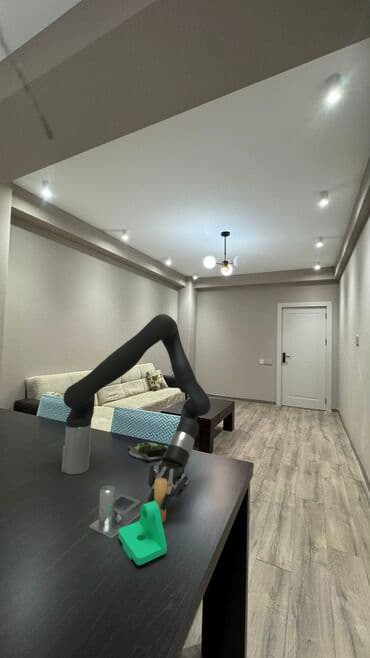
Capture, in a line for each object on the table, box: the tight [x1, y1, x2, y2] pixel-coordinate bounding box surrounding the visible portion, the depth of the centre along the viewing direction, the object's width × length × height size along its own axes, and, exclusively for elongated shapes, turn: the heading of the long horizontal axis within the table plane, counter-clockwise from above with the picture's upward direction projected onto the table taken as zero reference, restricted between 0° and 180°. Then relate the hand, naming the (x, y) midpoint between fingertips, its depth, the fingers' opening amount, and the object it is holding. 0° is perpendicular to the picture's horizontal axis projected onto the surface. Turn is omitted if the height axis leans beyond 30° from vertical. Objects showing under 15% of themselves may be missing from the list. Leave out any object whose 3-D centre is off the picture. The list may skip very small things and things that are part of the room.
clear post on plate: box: [89, 484, 142, 539], centre depth 82 cm, size 12×8×11 cm, turn 151°
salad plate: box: [127, 442, 169, 462], centre depth 130 cm, size 19×18×5 cm
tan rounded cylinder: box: [154, 477, 168, 524], centre depth 83 cm, size 4×4×11 cm
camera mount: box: [117, 501, 168, 566], centre depth 72 cm, size 12×8×10 cm, turn 36°
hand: (156, 506), depth 82 cm, fingers closed on tan rounded cylinder, 3 cm apart
